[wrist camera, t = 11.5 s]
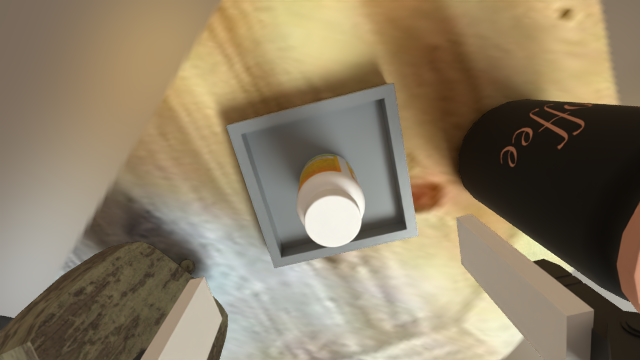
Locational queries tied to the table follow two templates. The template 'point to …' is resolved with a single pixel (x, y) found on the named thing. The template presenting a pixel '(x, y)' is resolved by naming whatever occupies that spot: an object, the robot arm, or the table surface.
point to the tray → (327, 138)
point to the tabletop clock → (103, 308)
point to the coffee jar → (564, 182)
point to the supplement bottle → (330, 200)
